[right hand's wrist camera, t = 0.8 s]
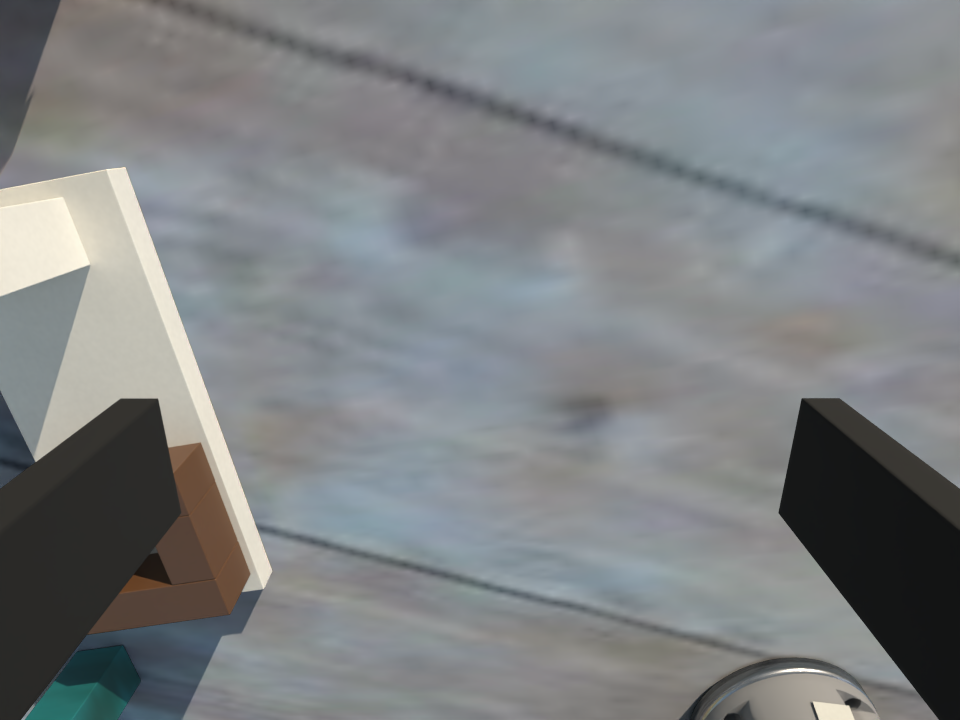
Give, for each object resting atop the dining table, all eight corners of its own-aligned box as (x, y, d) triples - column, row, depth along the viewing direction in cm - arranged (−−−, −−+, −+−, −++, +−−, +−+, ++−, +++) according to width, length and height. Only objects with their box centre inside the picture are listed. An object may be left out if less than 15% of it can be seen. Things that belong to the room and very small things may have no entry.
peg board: (272, 570, 47) (192, 742, 34) (123, 592, 48) (-12, 769, 35) (125, 167, 36) (-73, 189, 23) (-63, 202, 37) (-358, 244, 24)
